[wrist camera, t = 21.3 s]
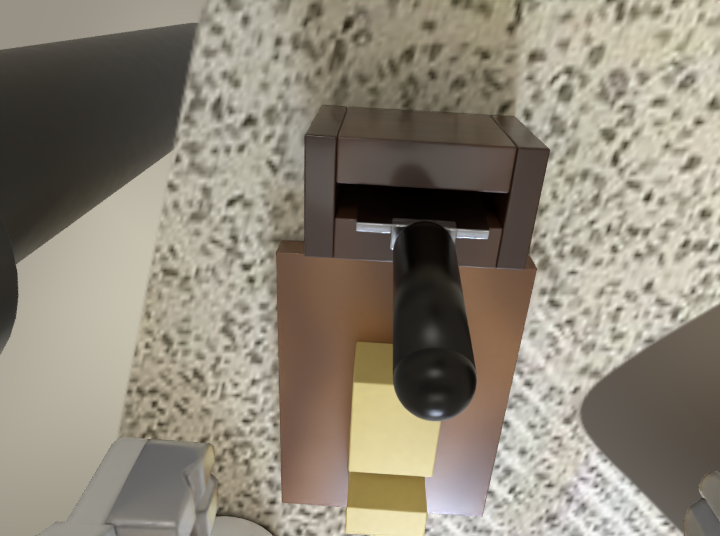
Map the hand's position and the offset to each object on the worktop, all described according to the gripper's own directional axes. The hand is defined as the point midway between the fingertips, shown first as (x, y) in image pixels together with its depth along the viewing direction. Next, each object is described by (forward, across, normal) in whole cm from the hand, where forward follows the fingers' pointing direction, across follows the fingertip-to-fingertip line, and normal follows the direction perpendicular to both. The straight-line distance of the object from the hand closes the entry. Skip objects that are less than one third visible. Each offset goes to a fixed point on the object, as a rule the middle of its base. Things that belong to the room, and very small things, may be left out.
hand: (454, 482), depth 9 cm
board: (+19, 0, +14) cm, 23 cm away
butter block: (+18, 0, +12) cm, 22 cm away
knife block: (+19, 0, 0) cm, 19 cm away
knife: (+19, -1, 0) cm, 19 cm away
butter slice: (+18, 0, +19) cm, 26 cm away
